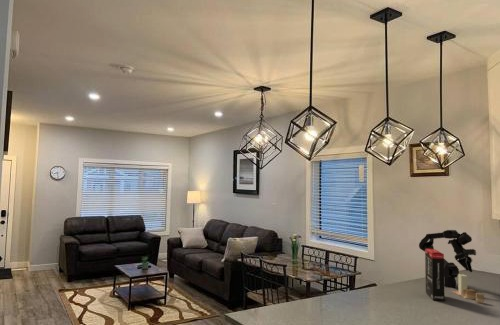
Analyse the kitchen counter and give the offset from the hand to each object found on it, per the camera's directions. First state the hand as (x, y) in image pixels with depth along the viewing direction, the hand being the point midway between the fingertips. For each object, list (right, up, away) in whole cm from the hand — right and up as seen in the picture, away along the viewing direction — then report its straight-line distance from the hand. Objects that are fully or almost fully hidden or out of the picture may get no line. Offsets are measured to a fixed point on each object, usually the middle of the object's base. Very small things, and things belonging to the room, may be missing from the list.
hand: (469, 271), depth 233 cm
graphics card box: (-31, -11, -16) cm, 36 cm away
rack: (-8, -11, -18) cm, 23 cm away
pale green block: (-7, -12, -5) cm, 15 cm away
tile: (-7, -12, -5) cm, 15 cm away
